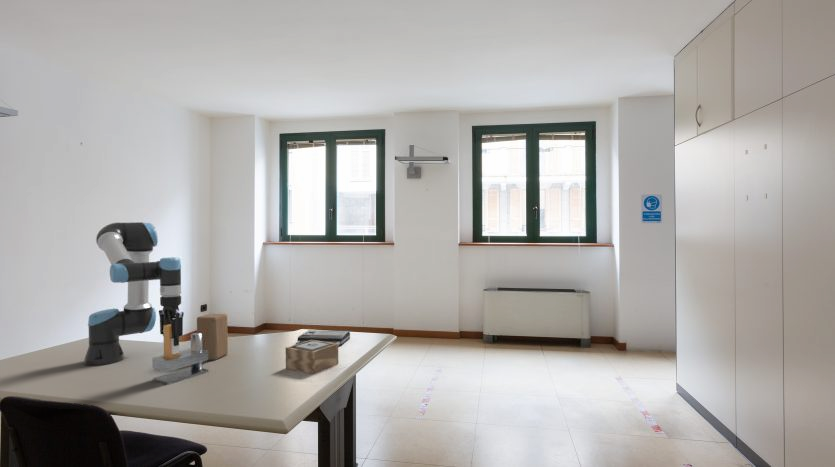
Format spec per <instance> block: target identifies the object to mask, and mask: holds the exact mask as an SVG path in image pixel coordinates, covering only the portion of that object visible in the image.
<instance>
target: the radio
mask: <svg viewBox="0 0 835 467" xmlns="http://www.w3.org/2000/svg"><path fill="white" fill-rule="evenodd" d="M350 339H351V333H350V331H349V330H322V329H321V330H316V329H314V330H312V329H309V330H307V331H305V332H303V333H302V334H300V335H298V337H297V341H295V345H296V344H299V343H302V342H306V341H309V340H317V341H323V342H330V343H336V344H338V347H341V346H343V345H344V344H346V343H347V342H348V341H349V340H350Z"/></svg>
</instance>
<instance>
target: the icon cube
mask: <svg viewBox="0 0 835 467" xmlns="http://www.w3.org/2000/svg"><path fill="white" fill-rule="evenodd" d="M328 346H329V344H326V343H320V342H315V341H311V342H308V343H305V344H301V345H298V346H296V349H301V350H307V351H316V350H319V349H322V348H325V347H328Z"/></svg>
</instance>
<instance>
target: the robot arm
mask: <svg viewBox="0 0 835 467" xmlns="http://www.w3.org/2000/svg"><path fill="white" fill-rule="evenodd" d="M95 238H96V239H95V241H96V244H97V246H98V248H99V249H100V250H101V251H103V252H104V253H105V256H106V258H107V259H108V261H109V263H110V267H109V278H110V281H111V283H118V284H119V283H121V284H124V283H127V303H126V304H125V305H124V306H123V310H119V309H118V308H108V309H103V310H98V311H95V312H93V313H91V314H90V315H89V316H88V323H87V326H88V347H87V351H86V354H85V356H84V358H83V360H84V363H83V364H84V365H85V366H102V365H110V364H113V363H117V362H120V361H122V360H124V357H125V353H124V351H123V348H122V347H121V344H120V337H121V336H130V335H135V334H136V335H137V334H143V333H147V332H151V331H152V330H153V329H154V327H155V325H156V321H157V314H156V311H157V310H156V309H155V307H152V306H153V305H152V303H150V302H149V284H150V282H149V281H157V280H159V292H160V293H159V294H160V298H159V300H160V301H159V302H160V303H159V306H161V307H162V309H159V310H158V315H159V316H158V317H159V330H160V331H159V332H160V335H162V336H163V337H164V333H163V325H169V324H171V330H172V337H171V354H176V353H179V351H180V337H182V336H183V335H184V333H183V330H184V328H183V325H184V324H183V321H184V314H185V313H184V311H180V308H179V306H180V305H181V304H182V295H181V294H182V276H181V275H182V263H181V262H182V261H181V258H180V257H173V256H172V257H162V258H160V259H159V260H157V261H150V254H151V253H152V252H153V251H154V248H155V247H157V246H158V242H159V240H158V233H157V229H156V227H155V225H154V224H153V223H150V222H112V223H109V224H107V225H104V227H102V228H101V229H100V230H99V231H98V233H97V235H96V237H95Z"/></svg>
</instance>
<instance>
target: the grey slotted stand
mask: <svg viewBox="0 0 835 467" xmlns="http://www.w3.org/2000/svg"><path fill="white" fill-rule="evenodd" d="M205 361H209V360H208V350H203V349H202V333H197V332H193V333H191V334H190V348H186V349H183V350H179V357H176V358H172V359H166V358H164V354H163V355H159V356H156V357H152V362H151V363H152V367H151V368H152V369H156V370H159V371H163V372H166V373H167V372H170V371H174V370H177V371H174V372H170V373H167V374H163V375H159V376H156V377H152V381H154V382H157V383H161V384H165V385H170V384H173V383H177V382H179V381H183V380H185V379H189V378H193V377H195V376H198V375H201V374H206V373H207V372H208V373H209V369H207V368H203V362H205ZM188 366H190V367H188ZM185 367H187V368H185ZM180 368H181V370H180ZM182 368H183V369H182ZM178 369H179V370H178Z"/></svg>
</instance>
